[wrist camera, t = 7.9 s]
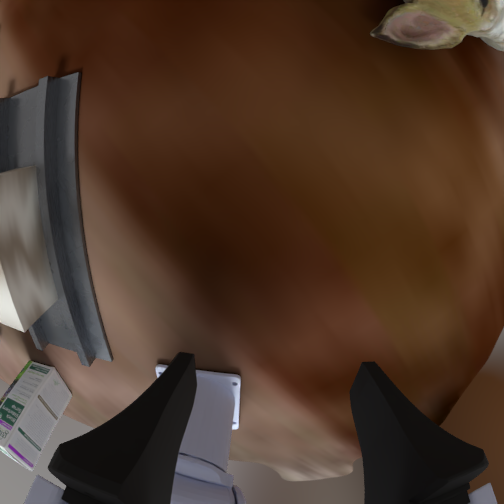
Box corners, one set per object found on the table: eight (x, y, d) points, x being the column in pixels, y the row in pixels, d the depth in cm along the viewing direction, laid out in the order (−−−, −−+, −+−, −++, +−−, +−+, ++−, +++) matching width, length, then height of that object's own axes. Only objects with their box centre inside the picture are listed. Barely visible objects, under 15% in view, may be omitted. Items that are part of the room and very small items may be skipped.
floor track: (113, 359, 24) (105, 371, 23) (34, 335, 25) (26, 344, 23) (81, 72, 14) (66, 69, 13) (-4, 105, 15) (-17, 106, 13)
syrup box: (54, 366, 26) (1, 446, 13) (74, 396, 29) (32, 474, 15) (29, 359, 27) (-22, 428, 14) (48, 388, 29) (6, 456, 16)
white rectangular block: (61, 295, 21) (24, 332, 16) (35, 290, 21) (-1, 321, 16) (40, 164, 17) (-14, 179, 11) (13, 169, 17) (-36, 184, 11)
